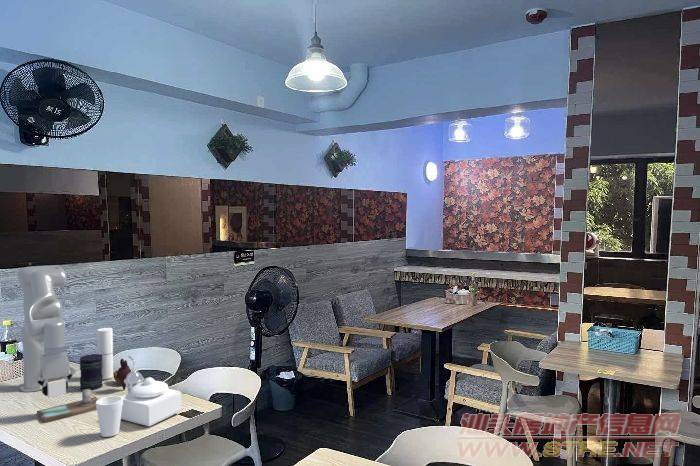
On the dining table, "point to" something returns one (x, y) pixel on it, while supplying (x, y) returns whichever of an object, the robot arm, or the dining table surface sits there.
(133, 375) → the cup with straw
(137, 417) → the butter dish
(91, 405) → the post stand
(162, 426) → the dining table surface
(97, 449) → the dining table surface
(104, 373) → the cylindrical container
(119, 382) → the hot dog
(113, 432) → the foam cup
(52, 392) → the white cube with handle
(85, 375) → the storage jar
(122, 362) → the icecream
